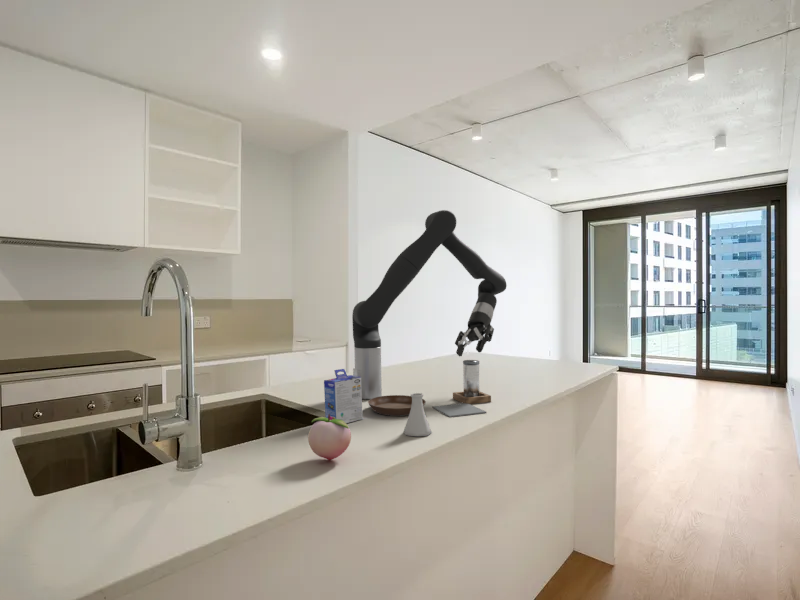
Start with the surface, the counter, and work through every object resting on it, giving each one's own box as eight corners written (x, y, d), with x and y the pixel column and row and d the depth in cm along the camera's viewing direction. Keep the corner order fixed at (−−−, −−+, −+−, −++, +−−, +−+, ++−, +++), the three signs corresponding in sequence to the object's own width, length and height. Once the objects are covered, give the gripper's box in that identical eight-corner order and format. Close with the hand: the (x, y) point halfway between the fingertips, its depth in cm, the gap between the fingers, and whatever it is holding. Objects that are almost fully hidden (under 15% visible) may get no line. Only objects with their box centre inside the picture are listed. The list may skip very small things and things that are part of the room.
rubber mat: (449, 417, 132) (449, 415, 132) (432, 407, 143) (432, 406, 143) (486, 413, 136) (486, 411, 136) (466, 403, 147) (466, 402, 147)
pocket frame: (465, 404, 146) (465, 398, 146) (452, 398, 155) (452, 392, 155) (491, 401, 150) (490, 395, 150) (476, 396, 158) (476, 390, 158)
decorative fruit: (300, 466, 96) (299, 418, 96) (317, 452, 104) (316, 408, 104) (342, 470, 94) (341, 421, 93) (356, 456, 101) (355, 411, 101)
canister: (468, 402, 149) (467, 362, 149) (460, 399, 154) (460, 360, 154) (482, 401, 151) (482, 361, 151) (474, 397, 156) (474, 359, 156)
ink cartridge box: (350, 416, 135) (350, 366, 135) (363, 419, 131) (362, 368, 131) (323, 423, 128) (322, 371, 127) (336, 427, 124) (335, 373, 124)
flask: (432, 429, 121) (431, 391, 121) (431, 437, 114) (430, 397, 114) (404, 428, 122) (404, 391, 121) (402, 437, 114) (401, 397, 114)
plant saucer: (404, 401, 153) (404, 391, 153) (437, 412, 139) (437, 402, 139) (357, 409, 144) (357, 399, 144) (388, 422, 129) (388, 411, 129)
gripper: (459, 315, 169) (446, 349, 159) (491, 306, 159) (478, 342, 149) (471, 328, 172) (458, 362, 162) (503, 320, 162) (491, 356, 152)
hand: (468, 352), depth 155 cm, fingers open, 8 cm apart
